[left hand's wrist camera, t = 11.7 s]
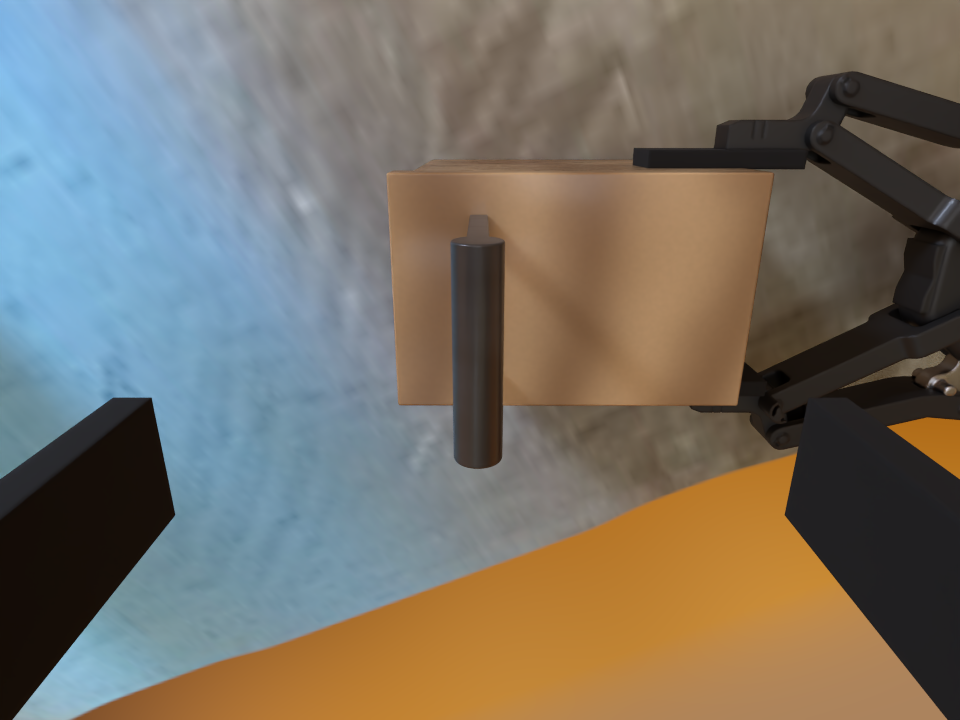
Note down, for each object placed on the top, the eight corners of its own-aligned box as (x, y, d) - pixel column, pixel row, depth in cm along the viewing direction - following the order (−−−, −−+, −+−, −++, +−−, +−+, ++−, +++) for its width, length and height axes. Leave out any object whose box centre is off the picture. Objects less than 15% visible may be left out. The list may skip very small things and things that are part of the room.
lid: (401, 394, 27) (366, 508, 19) (390, 170, 24) (342, 190, 16) (726, 394, 27) (833, 509, 19) (760, 170, 24) (908, 191, 16)
